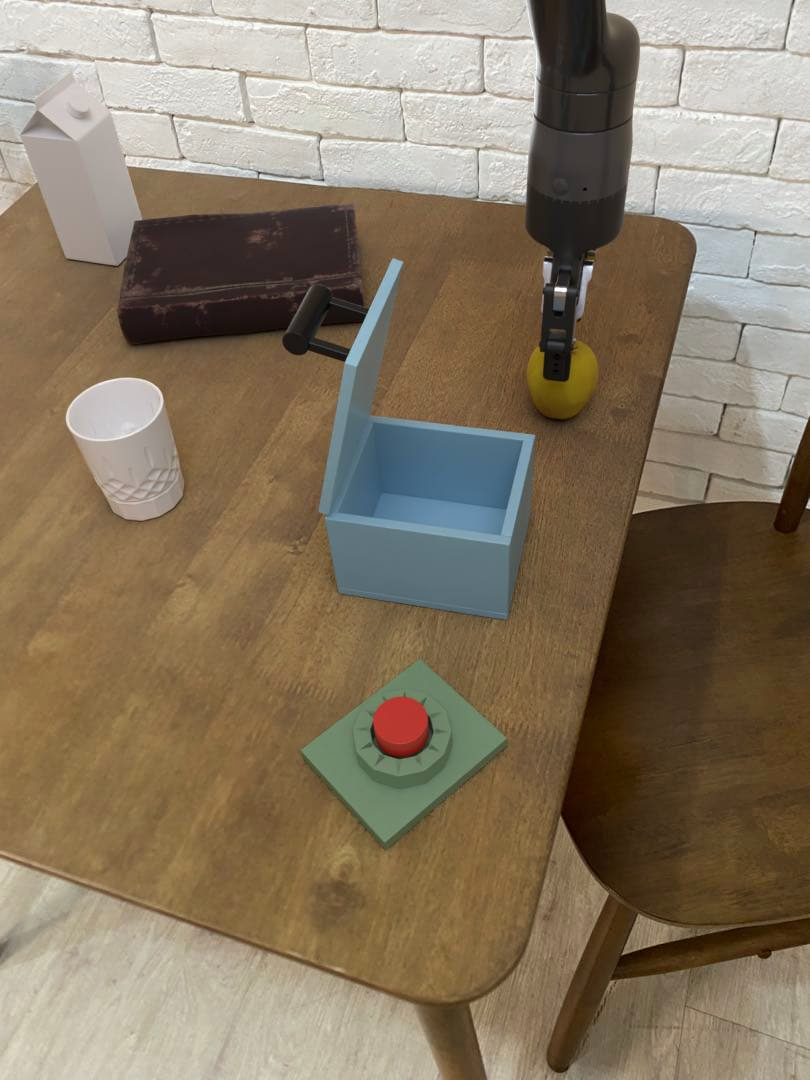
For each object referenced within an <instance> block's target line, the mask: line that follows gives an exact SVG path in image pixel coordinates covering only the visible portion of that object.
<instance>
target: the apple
mask: <svg viewBox="0 0 810 1080" xmlns="http://www.w3.org/2000/svg"><path fill="white" fill-rule="evenodd" d="M543 365H544V352H540V347H539V344H538V345H537V347H535V349H534V350H533V352H532V353H531V355H530V358H529V359H528V364H527V368H526V369H527V370H526V383H527V388H528V391H529V393H530V396H531V398H532V401H533V403H534V405H535V407H536V408H537V410H538V411H539V412H540V413H541V414H542V415H543V416H544V417H546V418H550V419H555V420H556V419H557V420H567V419H570V418H572V417H574V416H576V415H578V413H580V412H581V410H582V409H583V408H584V407H585V405H586V404H587V402H588V401H589V400H590V398H592V396H593V394H594V392H595V390H596V389H597V387H598V383H599V382H598V381H599V376H600V375H599V374H600V369H599V364H598V359H597V357H596V355H595V352H593V350H592V349H591V347H589V346H588V345H587V344H586V343H583V342H582V341H580V340H577V339H576V342H575V344H574V348H573V351H572V357H571V368H570V375H569V379H568V380H567V381H566V382H560V381H551V380H546V379H544V377H543Z"/></svg>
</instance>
